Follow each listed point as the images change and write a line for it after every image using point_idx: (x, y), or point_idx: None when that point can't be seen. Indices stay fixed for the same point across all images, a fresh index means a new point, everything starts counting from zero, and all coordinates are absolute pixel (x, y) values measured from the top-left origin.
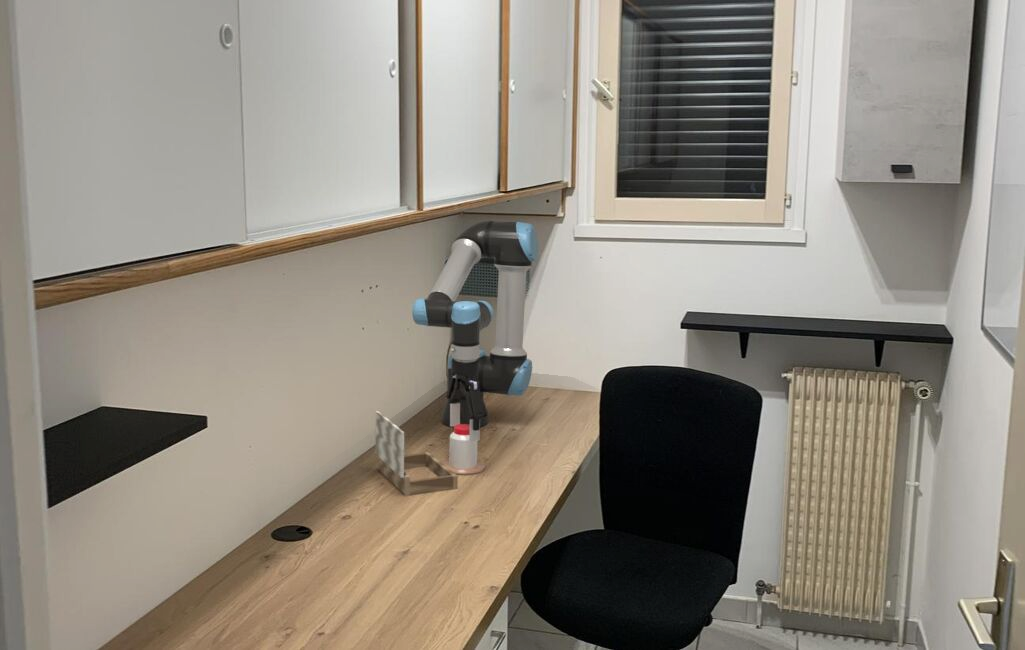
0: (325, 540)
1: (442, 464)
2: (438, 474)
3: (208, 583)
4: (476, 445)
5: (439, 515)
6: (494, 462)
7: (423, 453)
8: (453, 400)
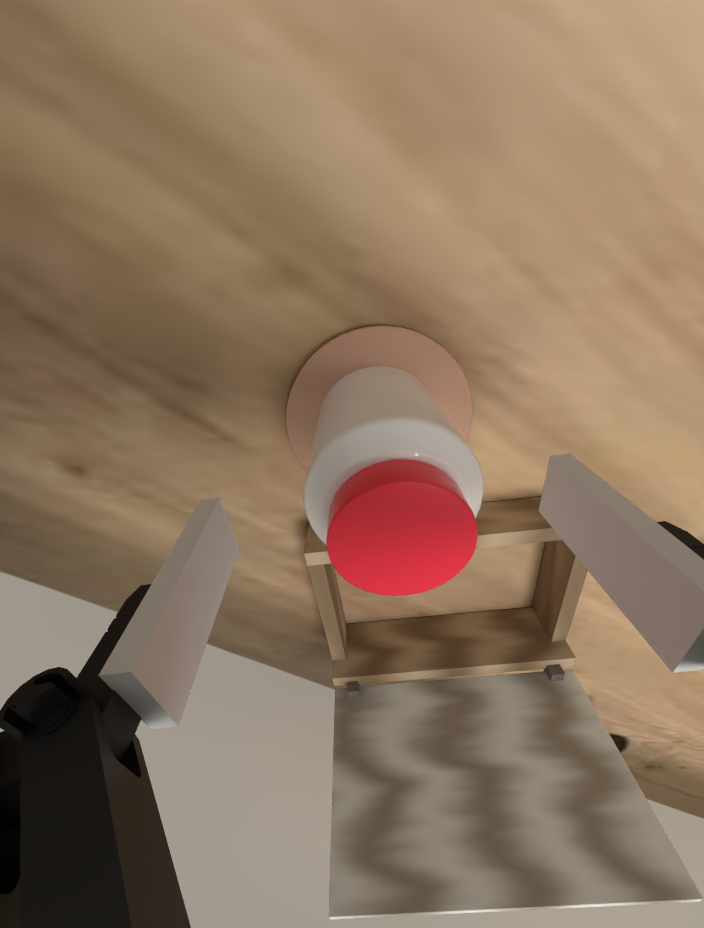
0: (656, 725)
1: None
2: None
3: (674, 796)
4: (445, 417)
5: None
6: (344, 245)
7: (315, 570)
8: (113, 754)
